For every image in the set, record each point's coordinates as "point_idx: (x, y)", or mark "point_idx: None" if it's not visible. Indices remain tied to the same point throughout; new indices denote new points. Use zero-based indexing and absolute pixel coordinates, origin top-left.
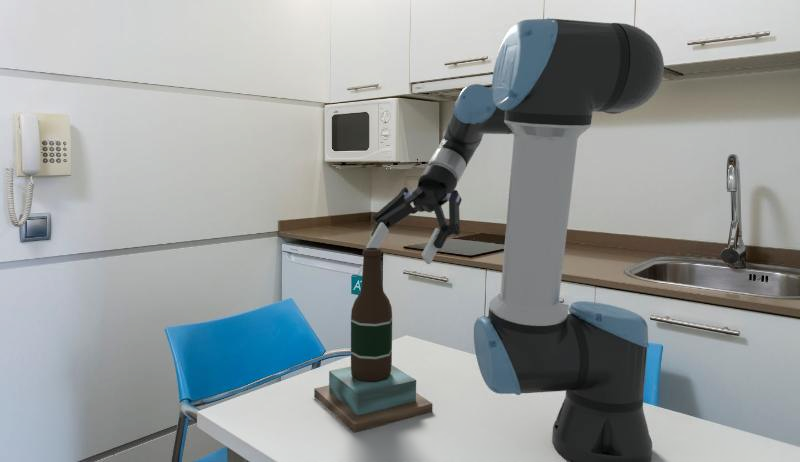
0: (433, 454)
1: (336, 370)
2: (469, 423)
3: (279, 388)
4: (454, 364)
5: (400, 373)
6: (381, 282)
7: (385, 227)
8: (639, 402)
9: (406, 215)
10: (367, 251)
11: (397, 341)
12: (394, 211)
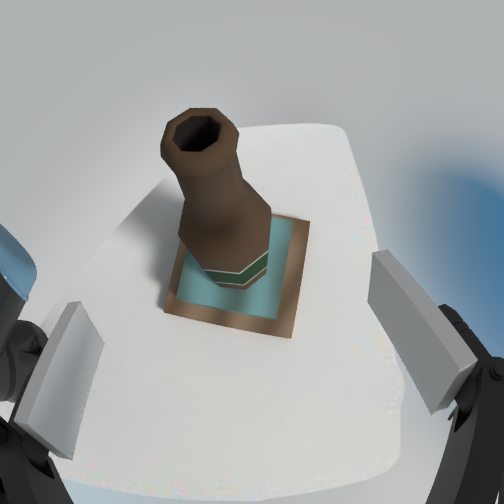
0: (108, 240)
1: (287, 229)
2: (118, 320)
3: (355, 205)
4: (264, 458)
5: (211, 299)
6: (193, 210)
7: (442, 387)
8: None
9: None
10: (188, 110)
11: (398, 447)
12: (479, 480)
